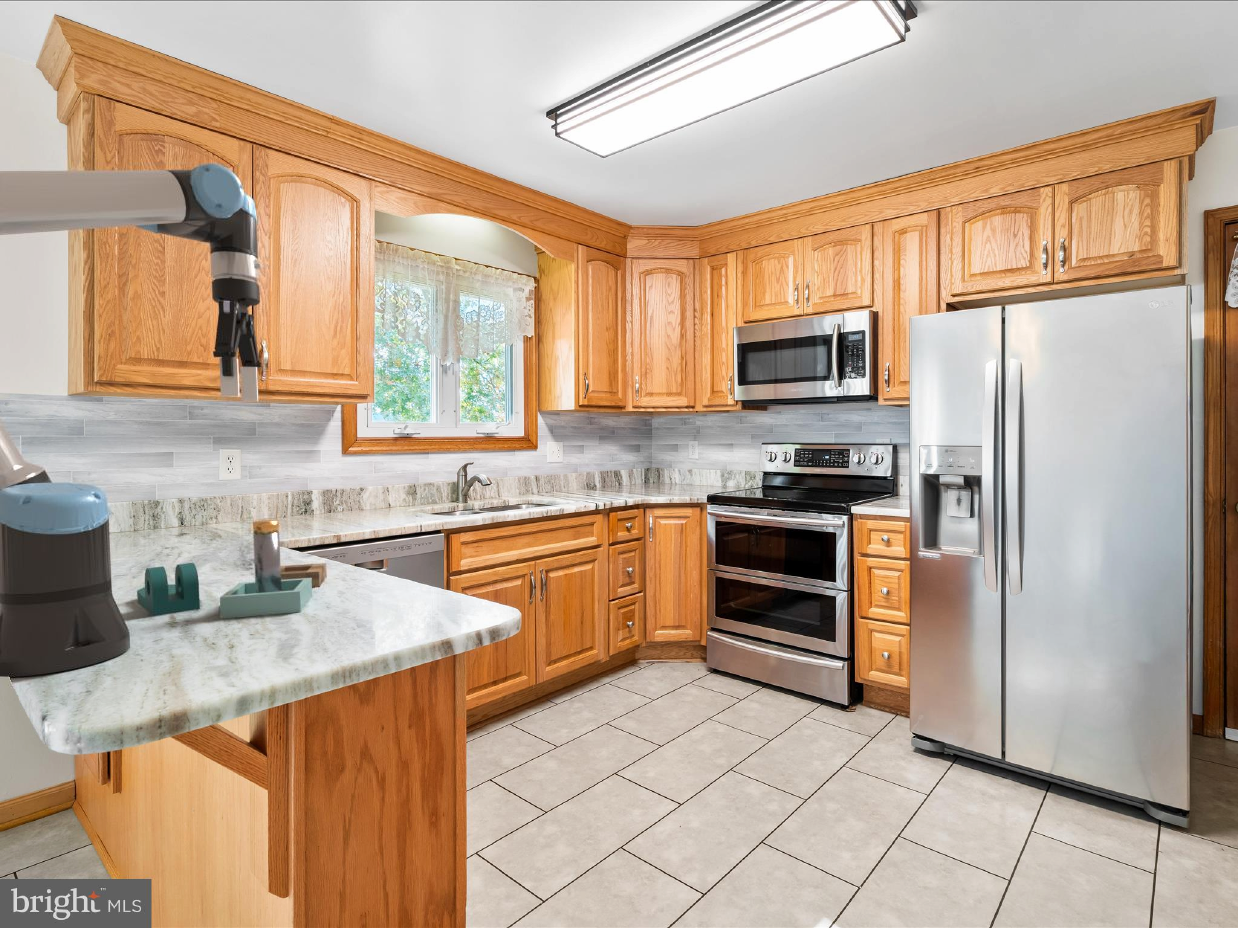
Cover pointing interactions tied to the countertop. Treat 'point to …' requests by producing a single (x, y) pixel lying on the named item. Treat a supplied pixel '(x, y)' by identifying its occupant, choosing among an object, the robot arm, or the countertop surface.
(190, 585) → the bracket
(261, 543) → the hitch pin
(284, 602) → the tray
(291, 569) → the collar block
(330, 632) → the countertop surface
